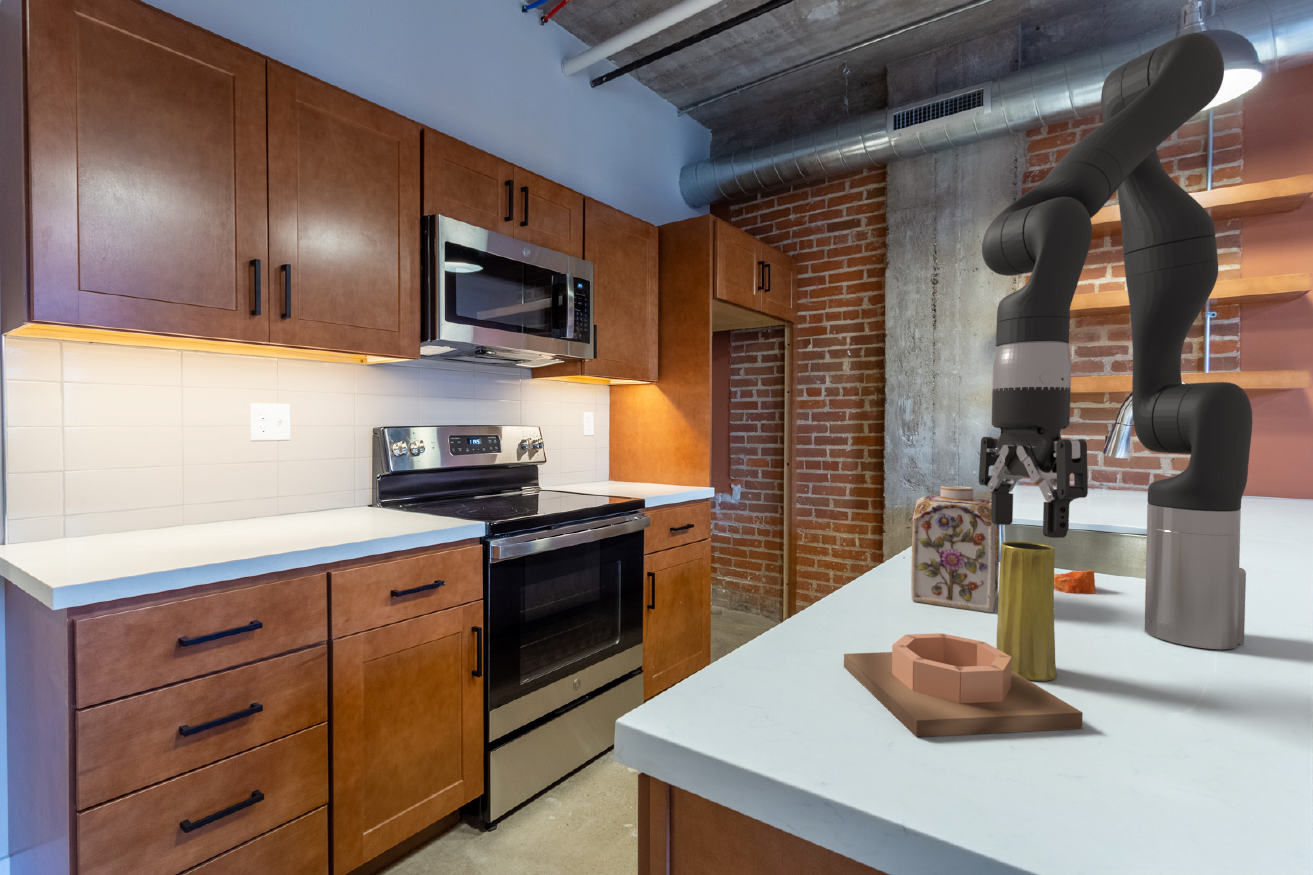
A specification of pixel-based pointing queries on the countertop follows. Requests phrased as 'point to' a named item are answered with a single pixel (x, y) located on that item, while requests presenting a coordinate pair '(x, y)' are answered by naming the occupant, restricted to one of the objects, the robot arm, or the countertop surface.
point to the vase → (1027, 609)
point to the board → (961, 704)
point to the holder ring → (952, 667)
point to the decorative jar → (955, 551)
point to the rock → (1075, 582)
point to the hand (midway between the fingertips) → (1026, 530)
